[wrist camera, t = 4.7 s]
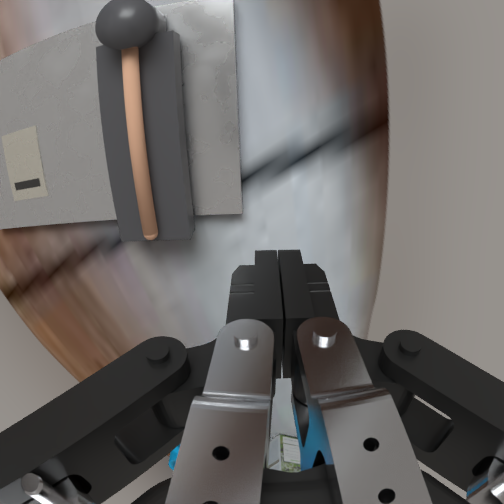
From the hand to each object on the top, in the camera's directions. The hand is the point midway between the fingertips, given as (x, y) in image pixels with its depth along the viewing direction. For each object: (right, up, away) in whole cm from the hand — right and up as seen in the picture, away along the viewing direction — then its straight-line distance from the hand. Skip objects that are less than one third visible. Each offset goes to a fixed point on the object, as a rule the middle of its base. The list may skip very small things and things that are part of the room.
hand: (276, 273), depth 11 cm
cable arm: (-9, +11, +11) cm, 18 cm away
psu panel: (-16, +12, +13) cm, 23 cm away
